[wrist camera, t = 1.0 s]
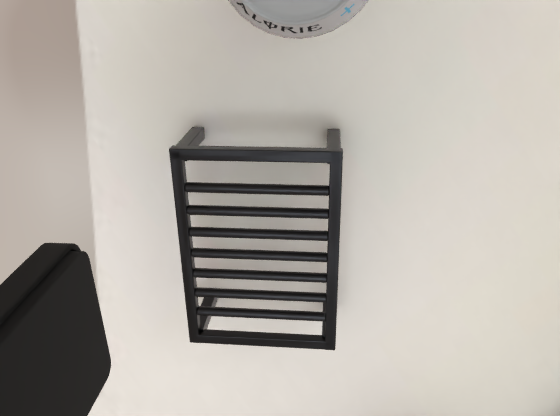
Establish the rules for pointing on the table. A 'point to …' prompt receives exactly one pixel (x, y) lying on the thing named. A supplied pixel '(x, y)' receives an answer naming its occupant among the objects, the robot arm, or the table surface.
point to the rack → (202, 314)
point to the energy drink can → (298, 15)
